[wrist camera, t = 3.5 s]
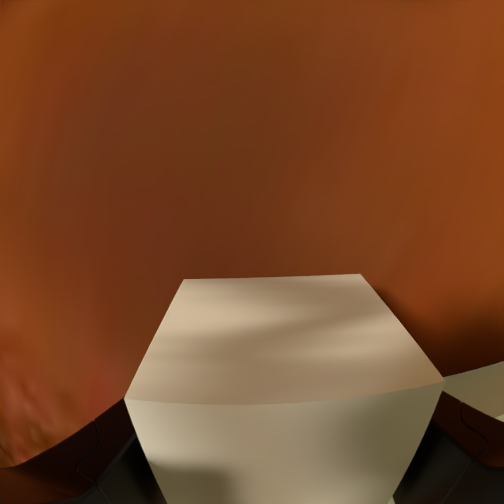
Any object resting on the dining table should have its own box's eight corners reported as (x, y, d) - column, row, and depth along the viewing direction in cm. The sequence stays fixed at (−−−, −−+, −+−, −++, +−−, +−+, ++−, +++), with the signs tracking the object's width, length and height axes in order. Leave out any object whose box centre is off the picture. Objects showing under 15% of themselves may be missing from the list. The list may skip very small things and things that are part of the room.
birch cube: (360, 274, 9) (445, 381, 4) (342, 403, 10) (378, 518, 6) (183, 279, 9) (123, 398, 4) (202, 409, 10) (181, 530, 6)
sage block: (548, 341, 13) (584, 372, 9) (486, 461, 17) (505, 493, 13) (398, 381, 13) (430, 439, 9) (354, 502, 17) (365, 546, 13)
